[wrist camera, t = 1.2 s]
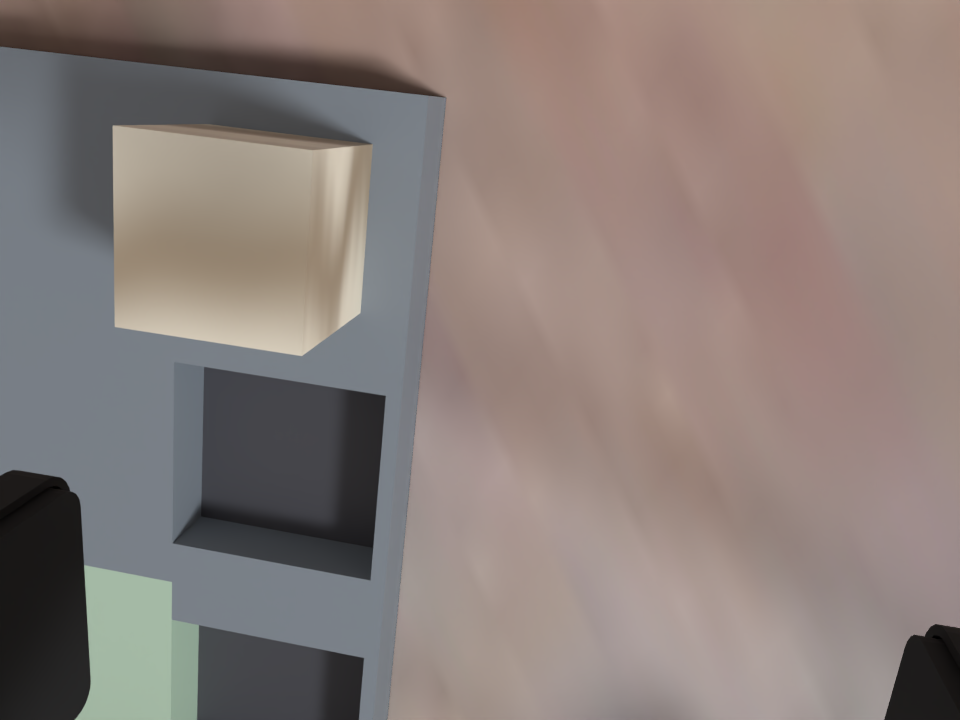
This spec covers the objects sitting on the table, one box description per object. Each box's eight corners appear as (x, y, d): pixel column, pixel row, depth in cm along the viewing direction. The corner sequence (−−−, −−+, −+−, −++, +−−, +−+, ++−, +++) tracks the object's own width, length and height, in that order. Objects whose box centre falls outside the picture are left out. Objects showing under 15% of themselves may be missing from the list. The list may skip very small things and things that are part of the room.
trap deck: (-28, 43, 29) (-174, 26, 23) (446, 97, 27) (402, 92, 21) (10, 744, 37) (-93, 849, 31) (377, 826, 35) (332, 953, 29)
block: (208, 124, 25) (112, 125, 21) (372, 144, 25) (312, 150, 20) (205, 290, 27) (114, 327, 22) (360, 313, 26) (301, 356, 22)
